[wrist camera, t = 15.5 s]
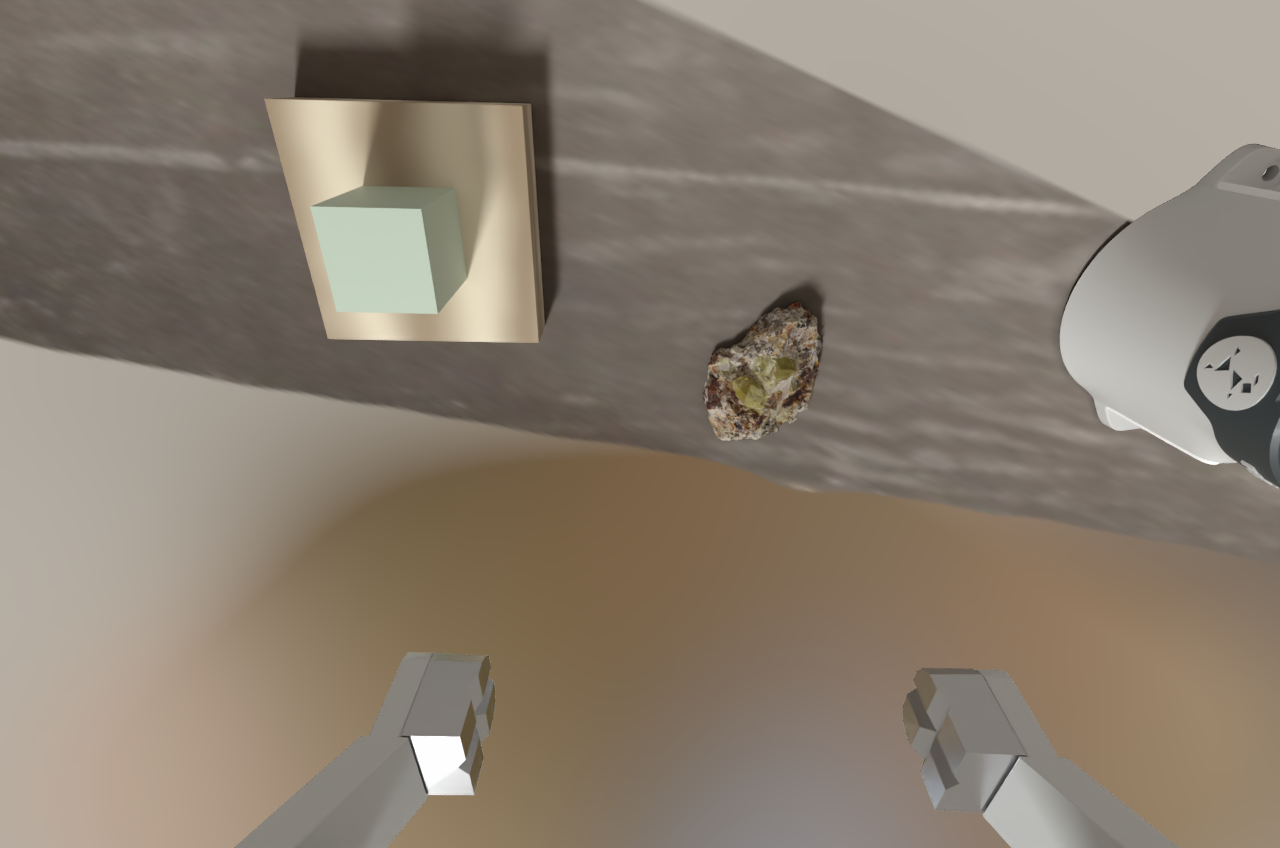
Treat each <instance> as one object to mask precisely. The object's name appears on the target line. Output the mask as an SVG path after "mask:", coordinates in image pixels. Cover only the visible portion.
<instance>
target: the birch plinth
mask: <svg viewBox="0 0 1280 848" xmlns="http://www.w3.org/2000/svg"><path fill="white" fill-rule="evenodd" d="M264 100H265V103H266V107H267V111H268V115H269V118H270V122H271V126H272V130H273V133H274V137H275V141H276V145H277V148H278V152H279V156H280V160H281V164H282V167H283V171H284V175H285V179H286V182H287V186H288V190H289V194H290V197H291V201H292V205H293V209H294V212H295V216H296V220H297V224H298V227H299V231H300V235H301V239H302V242H303V246H304V250H305V254H306V258H307V261H308V265H309V269H310V273H311V276H312V280H313V284H314V288H315V291H316V295H317V299H318V303H319V306H320V310H321V314H322V318H323V321H324V325H325V329H326V333H327V336H328V339H357V340H412V341H467V342H522V343H539V340H540V338H541V335H542V332H543V329H544V326H545V319H544V303H543V287H542V271H541V255H540V239H539V223H538V207H537V191H536V175H535V159H534V143H533V127H532V111H531V104H524V103H487V102H450V101H413V100H375V99H338V98H301V97H291V98H271V99H264ZM361 186H396V187H438V188H456V195H457V203H458V211H459V218H460V226H461V234H462V242H463V249H464V257H465V265H466V273H467V279H466V281H465V282H464V283H463V284H462V286H461V287H460V288H459V289H458V290H457V292H456V293H455V294H454V295H453V296H452V298H451V299H450V300H449V301H448V302H447V304H446V305H445V306H444V307H443V308H442V310H441V311H440V312H439V313H438V314H416V313H364V312H337V311H336V307H335V303H334V299H333V295H332V291H331V287H330V283H329V279H328V276H327V272H326V268H325V264H324V260H323V256H322V252H321V248H320V244H319V240H318V236H317V232H316V228H315V224H314V220H313V216H312V212H311V208H310V206H313V205H315V204H318V203H320V202H323V201H325V200H328V199H330V198H333V197H335V196H338V195H341V194H343V193H346V192H348V191H351V190H353V189H356V188H358V187H361Z"/></svg>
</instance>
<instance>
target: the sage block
mask: <svg viewBox="0 0 1280 848" xmlns="http://www.w3.org/2000/svg"><path fill="white" fill-rule="evenodd" d="M310 208H311V212H312V216H313V220H314V224H315V228H316V232H317V236H318V240H319V244H320V248H321V252H322V256H323V260H324V264H325V268H326V272H327V276H328V279H329V283H330V287H331V291H332V295H333V299H334V303H335V307H336V311H337V312H364V313H416V314H438V313H439V312H440V311H441V310H442V308H443V307H444V306H445V305H446V304H447V302H448V301H449V300H450V299H451V298H452V296H453V295H454V294H455V293H456V292H457V290H458V289H459V288H460V287H461V286H462V284H463V283H464V282H465V281H466V279H467V273H466V265H465V257H464V249H463V242H462V234H461V226H460V218H459V211H458V203H457V195H456V188H438V187H396V186H361V187H358V188H356V189H353V190H351V191H348V192H346V193H343V194H341V195H338V196H335V197H333V198H330V199H328V200H325V201H323V202H320V203H318V204H315V205H313V206H310Z"/></svg>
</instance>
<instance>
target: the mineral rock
mask: <svg viewBox="0 0 1280 848" xmlns="http://www.w3.org/2000/svg"><path fill="white" fill-rule="evenodd" d="M820 339H822V338H821V336H820V335H819V334H818V332H817V318H816V317H814V315H813V316H811V314H810V311H809V310H804V309H803V307H802V304H801V303H800V302H795V303H793V304H791V305H789V306H788V307H787V308H786V309H781V308H779V307H778V308H775V309H773V310H772V311H770V312H768V313H766V314H765V315H764V316H761V317H760V319H759V320H758V321H757V322H756V324H755V325H753V326H751V328H750V329H749V331H748V334H747V335H746V336H745V337H744V338H743V339H742V340H741V341H740V342H739V343H738V344H735V345H732V347H731V348H728V349H725V348H722V347H721V348H720V349H719V350H717V351H716V352H715V353H713V354H712V357H711V359H710V361H711V362H710V363H709V364H708V368H709V370H708V380H707V381H706V382H705V385H704V386H705V387H704V392H703V399H704V402H705V404H706V406H707V409H708V412H709V420H710V422H711V424H712V427H713V430H714V432H715V434H716V436H717V437H718V438H719V439H721V440H730V441H732V440H734V439H736V441H738V440H739V439H740V440H742V439H743V438H746V439H747V438H750V439H751V438H752V439H755V440H756V439H759V438H761V437H763V436H766V435H768V434H771V433H773V432H776V431H777V430H779V427H780V426H781V425H782V423H783V422H785V421H788V422H789V423H792V422H794V421H795V420H796V419H797V416H796V415H797V412H802V411H805V410H806V409H808V401H809V400H810V397H811V394H812V393H813V387H814V383H813V381H814V376H815V375H816V374H817V373H818V369H817V368H818V367H819V362H818V353H819V352H820V351H821V349H822V345H821V340H820Z"/></svg>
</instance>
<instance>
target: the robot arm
mask: <svg viewBox="0 0 1280 848" xmlns="http://www.w3.org/2000/svg"><path fill="white" fill-rule="evenodd" d="M1266 169H1267V171H1266V173H1265V174H1264V175H1263V173H1264V171H1265V170H1266ZM1262 175H1263V176H1262ZM1060 348H1061V354H1062V358H1063V361H1064V364H1065V366H1066V368H1067V370H1068V372H1069V373H1070V375H1071V376H1072V377H1073V379H1074V380H1075V381H1076V382H1077V383H1079V384H1080V385H1081V386H1082V387H1083V388H1084V389H1086V390H1087V391H1088V392H1089V393H1090V394H1091V395H1092V397H1093V398H1094V402H1095V406H1096V410H1097V414H1098V417H1099V419H1100V420H1101V422H1102V423H1103V424H1105V425H1107V426H1109V427H1111V428H1112V429H1114V430H1118V431H1124V430H1131V429H1138V428H1142V429H1144V430H1146V431H1148V432H1149V433H1151V434H1153V435H1155V436H1156V437H1158V438H1160V439H1162V440H1163V441H1165V442H1167V443H1169V444H1171V445H1172V446H1174V447H1176V448H1178V449H1180V450H1181V451H1183V452H1185V453H1187V454H1189V455H1190V456H1192V457H1194V458H1196V459H1198V460H1200V461H1202V462H1204V463H1207V464H1212V465H1217V464H1219V463H1236V462H1238V463H1240V464H1241V465H1243V466H1244V467H1246V468H1247V470H1248V471H1249V472H1251V473H1252V474H1253V475H1255V476H1256V477H1258V478H1260V479H1261V480H1263V481H1265V482H1266V483H1268V484H1270V485H1273V486H1274V487H1276V488H1280V150H1278V149H1275V148H1271V147H1267V146H1263V145H1259V144H1249V145H1245V146H1243V147H1240V148H1239V149H1237V150H1235V151H1234V152H1232V153H1231V154H1230V155H1228V156H1227V157H1226V158H1225V159H1223V160H1222V161H1221V162H1220V163H1219V164H1218V165H1216V166H1215V167H1214V168H1213V169H1212V170H1211V171H1210V172H1209V173H1208V174H1207V175H1206V176H1204V177H1203V178H1202V179H1201V180H1200V181H1199V182H1198V183H1197V184H1196V185H1195V186H1193V187H1192V188H1191V189H1189V190H1188V191H1186V192H1184V193H1182V194H1180V195H1179V196H1177V197H1175V198H1173V199H1171V200H1169V201H1167V202H1166V203H1163V204H1161V205H1159V206H1158V207H1156V208H1154V209H1152V210H1151V211H1149V212H1147V213H1146V214H1144V215H1143V216H1141V217H1140V218H1138V219H1137V220H1135V221H1134V222H1133V223H1131V224H1130V225H1129V226H1127V227H1126V228H1125V229H1124V230H1122V231H1121V232H1120V233H1119V234H1118V235H1117V236H1115V237H1114V238H1113V239H1112V240H1111V241H1110V242H1109V243H1108V244H1107V245H1106V246H1105V247H1104V248H1103V249H1102V250H1101V251H1100V252H1099V254H1098V255H1097V256H1096V257H1095V258H1094V259H1093V261H1092V262H1091V263H1090V265H1089V266H1088V267H1087V269H1086V270H1085V271H1084V273H1083V274H1082V276H1081V277H1080V279H1079V281H1078V282H1077V284H1076V286H1075V288H1074V290H1073V292H1072V293H1071V296H1070V298H1069V300H1068V303H1067V305H1066V308H1065V311H1064V315H1063V318H1062V323H1061V330H1060ZM490 670H491V663H490V659H489V656H483V655H463V654H442V653H422V652H408V653H407V654H406V656H405V657H404V658H403V659H402V661H401V663H400V665H399V668H398V670H397V672H396V675H395V677H394V679H393V682H392V684H391V686H390V688H389V691H388V693H387V695H386V698H385V700H384V702H383V704H382V707H381V709H380V712H379V714H378V716H377V718H376V721H375V723H374V725H373V728H372V730H371V732H370V735H369V736H360V737H359V738H358V739H357V740H356V741H354V742H353V743H352V744H351V745H350V746H349V747H348V748H347V749H345V750H344V751H343V752H342V753H341V754H340V755H339V756H338V757H336V758H335V759H334V760H333V761H332V762H331V763H329V764H328V765H327V766H326V767H325V768H324V769H323V770H322V771H320V772H319V773H318V774H317V775H316V776H315V777H314V778H313V779H311V780H310V781H309V782H308V783H307V784H306V785H305V786H304V787H302V788H301V789H300V790H299V791H298V792H297V793H296V794H294V795H293V796H292V797H291V798H290V799H289V800H288V801H287V802H285V803H284V804H283V805H282V806H281V807H280V808H279V809H277V810H276V811H275V812H274V813H273V814H272V815H271V816H269V817H268V818H267V819H266V820H265V821H264V822H263V823H262V824H261V825H259V826H258V827H257V828H256V829H255V830H254V831H252V832H251V833H250V834H249V835H248V836H247V837H246V838H245V839H244V840H242V841H241V842H240V843H239V844H238V845H237V846H236V847H235V848H387V847H388V845H389V844H390V843H391V841H393V839H394V838H395V837H396V836H397V834H398V833H399V832H400V831H401V830H402V828H403V827H404V826H405V825H406V824H407V822H408V821H409V820H410V819H411V817H412V816H413V815H414V814H415V812H416V811H417V810H418V809H419V808H420V806H421V805H422V804H423V803H424V801H425V800H426V799H427V795H474V794H475V789H476V786H477V782H478V778H479V774H480V770H481V766H482V762H483V758H484V757H483V752H482V747H481V742H482V741H483V740H484V739H485V738H486V737H487V736H488V735H489V734H490V730H491V726H492V721H493V715H494V709H495V685H494V681H492V680H491V679H490V678H489V674H490ZM913 681H914V683H915V686H916V689H915V690H913V691H911V692H910V693H908V694H907V696H906V698H905V701H904V704H903V723H904V728H905V732H906V735H907V738H908V741H909V743H910V746H911V747H912V748H913V750H915V751H916V752H917V753H918V754H919V755H920V756H921V757H922V758H923V759H924V761H923V764H922V767H921V770H920V773H921V775H922V777H923V780H924V783H925V785H926V788H927V791H928V793H929V796H930V798H931V801H932V803H933V806H934V809H935V810H944V811H962V812H977V813H984V814H983V817H984V818H985V819H986V820H987V821H988V822H989V823H990V824H991V826H992V827H993V828H994V829H995V830H996V831H997V832H998V833H999V834H1000V836H1001V837H1002V838H1003V839H1004V840H1005V841H1006V842H1007V843H1008V844H1009V845H1010V847H1011V848H1179V847H1178V846H1176V845H1175V844H1174V843H1173V842H1172V841H1170V840H1169V839H1168V838H1167V837H1165V836H1164V835H1163V834H1162V833H1160V832H1159V831H1158V830H1157V829H1155V828H1154V827H1153V826H1152V825H1150V824H1149V823H1148V822H1147V821H1145V820H1144V819H1143V818H1141V817H1140V816H1139V815H1138V814H1136V813H1135V812H1134V811H1133V810H1131V809H1130V808H1129V807H1128V806H1126V805H1125V804H1124V803H1123V802H1121V801H1120V800H1119V799H1118V798H1117V797H1115V796H1114V795H1113V794H1112V793H1110V792H1109V791H1108V790H1107V789H1105V788H1104V787H1103V786H1102V785H1100V784H1099V783H1098V782H1097V781H1095V780H1094V779H1093V778H1091V777H1090V776H1089V775H1088V774H1087V773H1085V772H1084V771H1083V770H1082V769H1080V768H1079V767H1078V766H1076V765H1075V764H1074V763H1073V762H1072V761H1070V760H1069V759H1068V758H1059V757H1058V755H1057V753H1056V752H1055V750H1054V748H1053V747H1052V745H1051V743H1050V742H1049V740H1048V738H1047V737H1046V735H1045V733H1044V732H1043V730H1042V728H1041V727H1040V725H1039V723H1038V722H1037V720H1036V718H1035V717H1034V715H1033V713H1032V712H1031V710H1030V708H1029V707H1028V705H1027V703H1026V702H1025V700H1024V698H1023V697H1022V695H1021V693H1020V692H1019V690H1018V689H1017V687H1016V685H1015V683H1014V682H1013V680H1012V678H1011V677H1010V676H1009V675H1008V674H1007V673H1006V672H1005V671H1001V670H973V669H952V668H947V669H946V668H921V669H920V670H918V671H917V672H916V674H915V676H914V679H913Z"/></svg>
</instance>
